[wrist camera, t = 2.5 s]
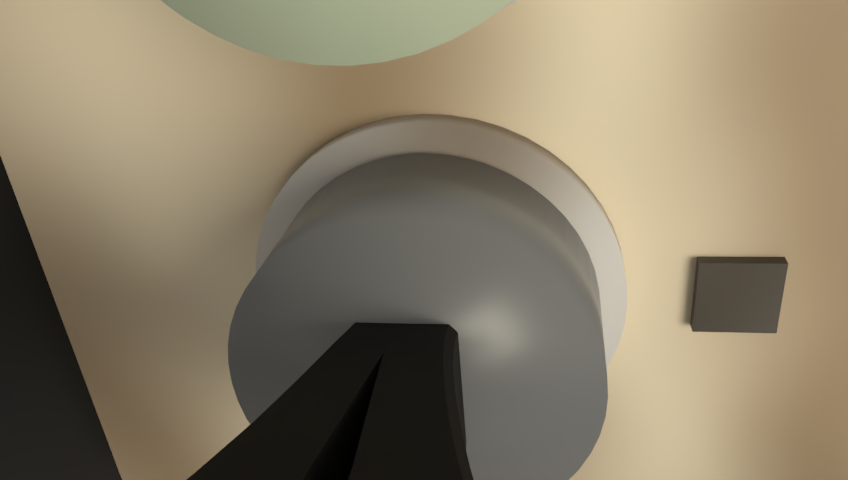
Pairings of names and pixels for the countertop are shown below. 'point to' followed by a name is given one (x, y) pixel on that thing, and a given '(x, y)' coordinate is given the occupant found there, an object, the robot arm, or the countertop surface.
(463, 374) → the grey button
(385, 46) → the sage button
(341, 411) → the robot arm
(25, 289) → the countertop surface
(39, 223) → the button board
